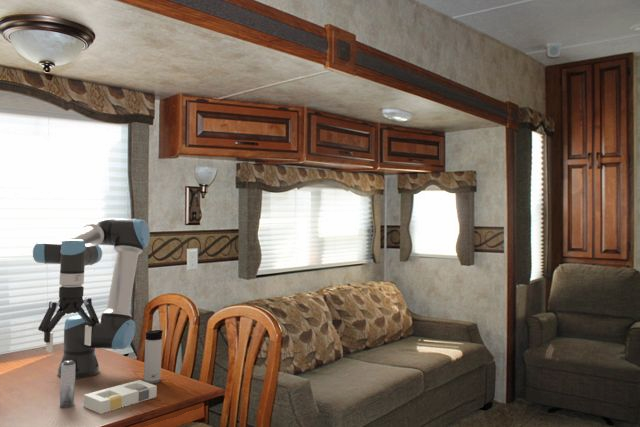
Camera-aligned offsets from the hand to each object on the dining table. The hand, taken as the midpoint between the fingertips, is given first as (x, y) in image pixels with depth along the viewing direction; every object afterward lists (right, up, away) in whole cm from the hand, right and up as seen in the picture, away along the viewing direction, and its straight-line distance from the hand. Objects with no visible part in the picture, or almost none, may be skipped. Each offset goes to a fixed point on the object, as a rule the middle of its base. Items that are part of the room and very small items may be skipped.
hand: (68, 348), depth 185 cm
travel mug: (+19, -20, +29) cm, 40 cm away
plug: (-1, -19, 0) cm, 19 cm away
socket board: (+15, -20, +6) cm, 26 cm away
